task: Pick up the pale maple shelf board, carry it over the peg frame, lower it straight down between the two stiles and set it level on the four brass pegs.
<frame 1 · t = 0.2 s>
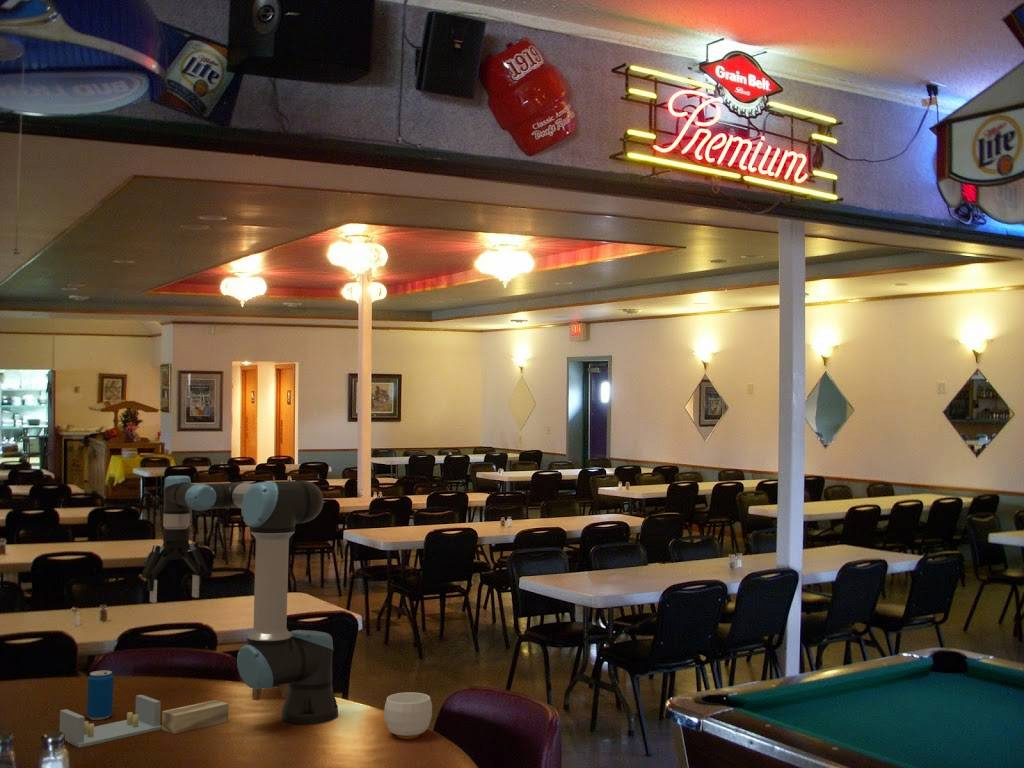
hand: (174, 599, 307), 28 cm above the table, fingers open, 13 cm apart
planter: (270, 696, 305), on the table
shelf board: (195, 726, 274), on the table
peg frame: (110, 733, 266), on the table
beverage can: (99, 718, 280), on the table
cup: (407, 736, 267), on the table
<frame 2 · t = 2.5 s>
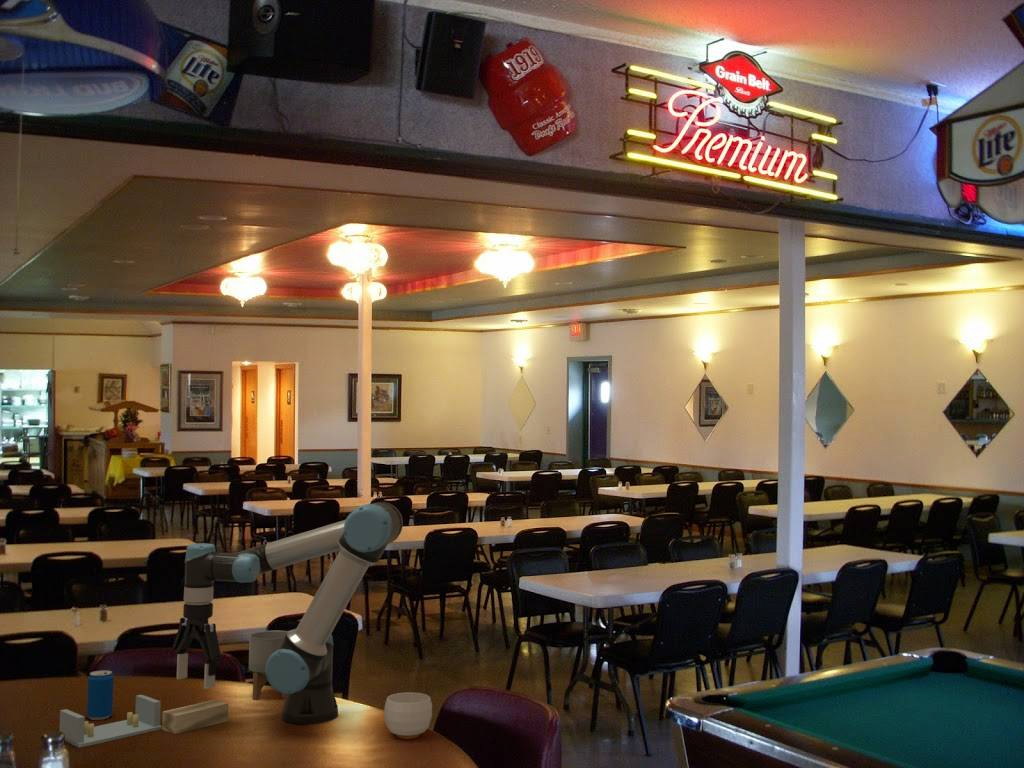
hand: (195, 683, 274), 11 cm above the table, fingers open, 13 cm apart
nothing on the table moved.
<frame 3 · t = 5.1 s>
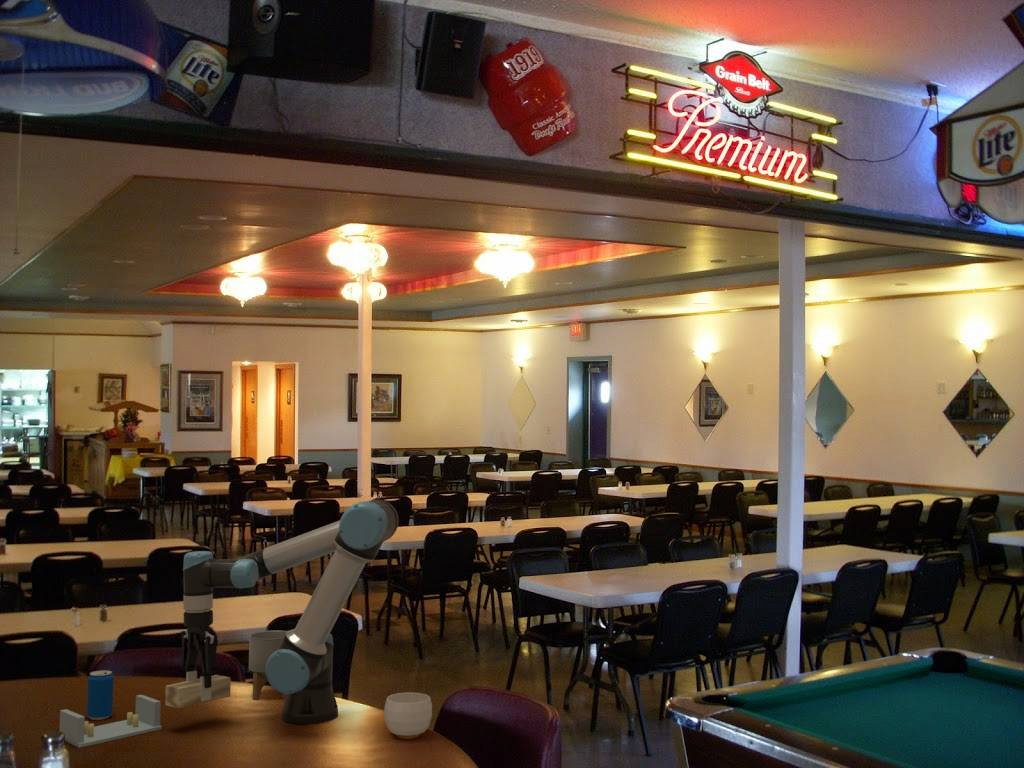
hand: (198, 697, 274), 7 cm above the table, fingers closed on shelf board, 6 cm apart
shelf board: (198, 700, 274), point 6 cm above the table, touching gripper
everything else where it was.
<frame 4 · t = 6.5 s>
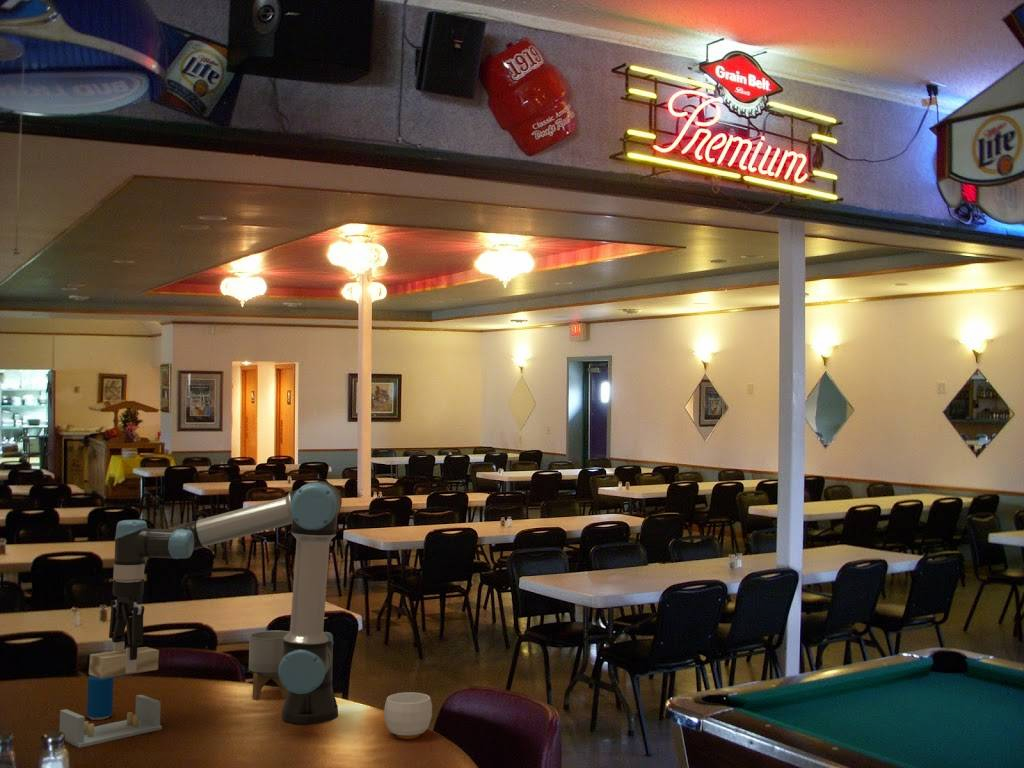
hand: (124, 669, 268), 16 cm above the table, fingers closed on shelf board, 6 cm apart
shelf board: (123, 671, 268), point 15 cm above the table, touching gripper
everything else where it was.
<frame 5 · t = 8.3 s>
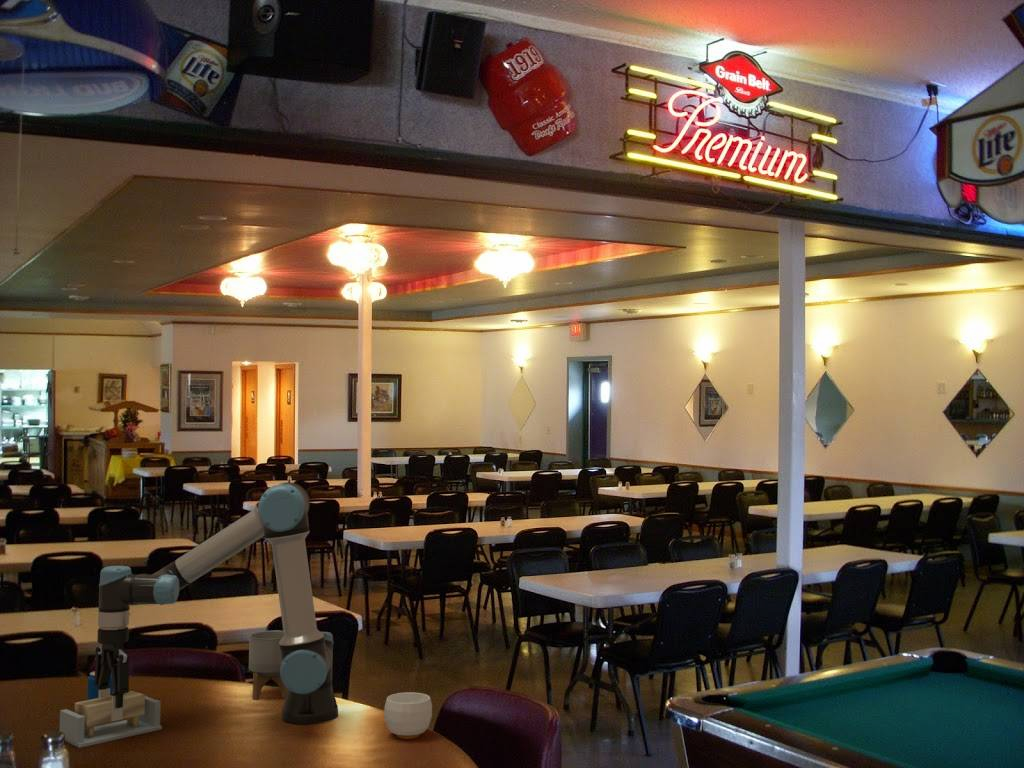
hand: (110, 717, 266), 4 cm above the table, fingers closed on shelf board, 6 cm apart
shelf board: (110, 718, 266), point 4 cm above the table, touching gripper, peg frame
everything else where it was.
when the fingers open (4 cm above the table, at t = 8.6 s): shelf board stays where it is, resting on peg frame.
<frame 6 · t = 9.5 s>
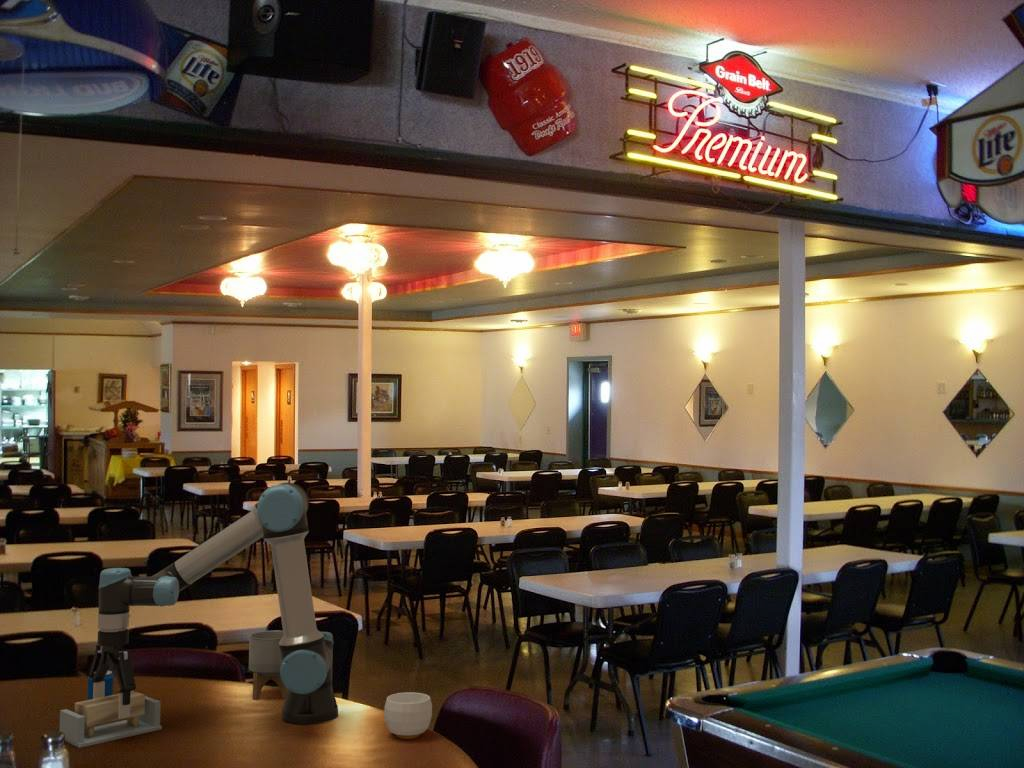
hand: (111, 712, 266), 5 cm above the table, fingers open, 13 cm apart
shelf board: (110, 718, 266), point 4 cm above the table, touching peg frame
everything else where it was.
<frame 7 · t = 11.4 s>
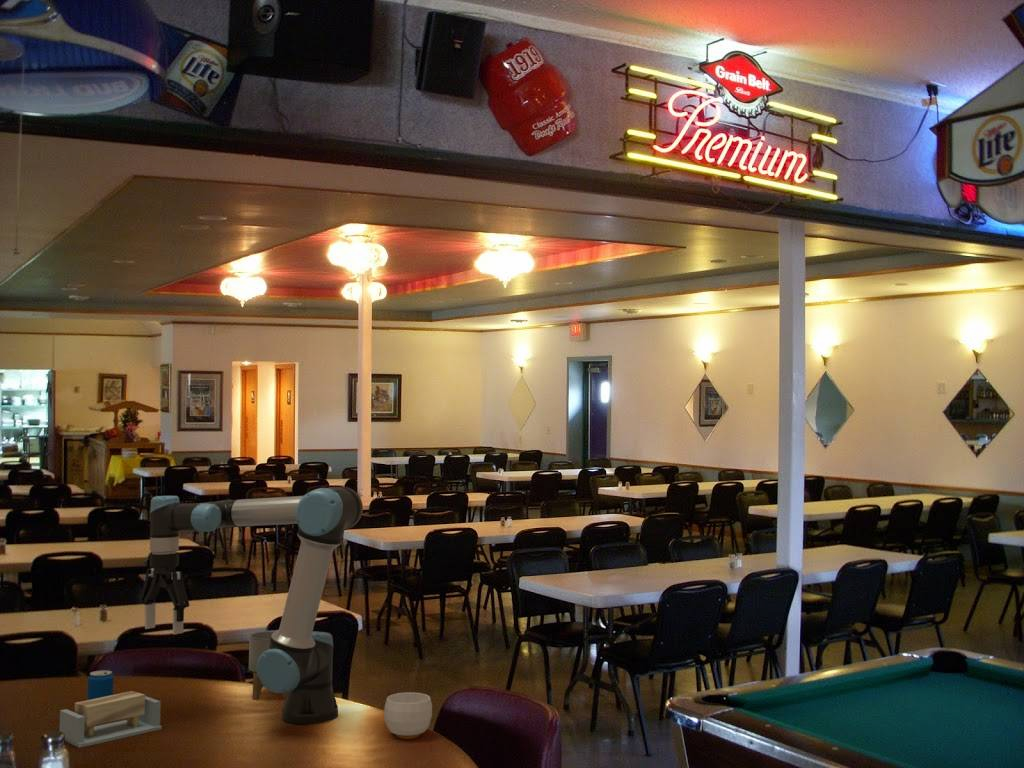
hand: (163, 630, 282), 23 cm above the table, fingers open, 13 cm apart
nothing on the table moved.
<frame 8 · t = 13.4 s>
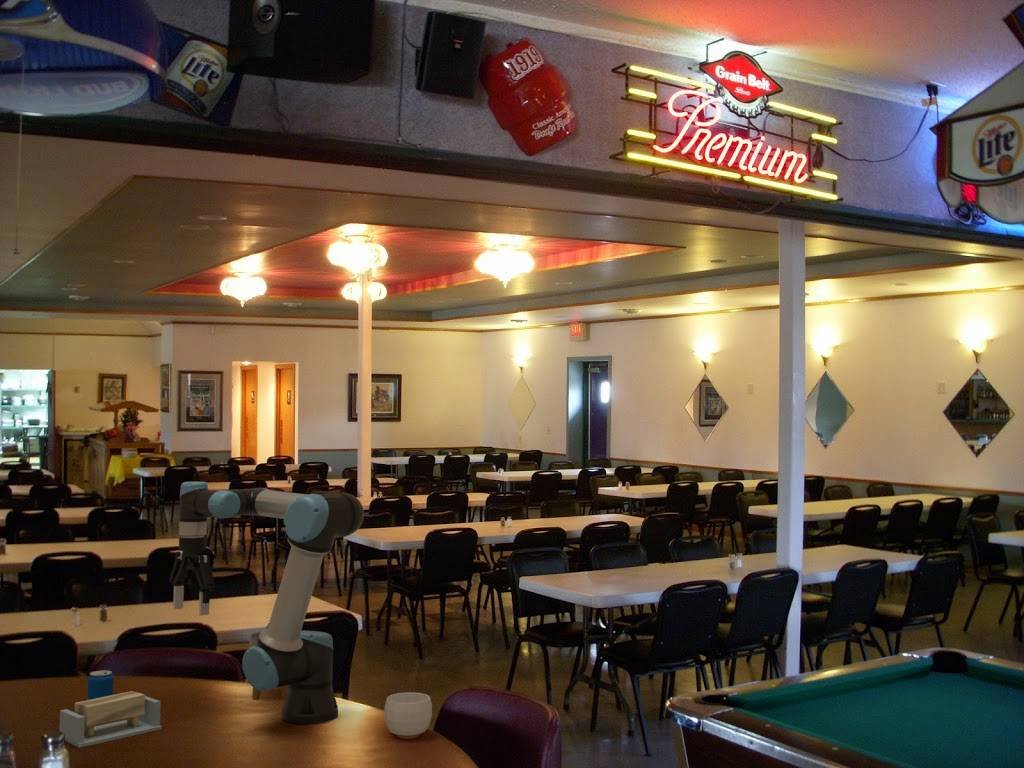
hand: (190, 611, 292), 27 cm above the table, fingers open, 13 cm apart
nothing on the table moved.
at the end: shelf board 0.2 cm off-centre on the peg frame, point 3.8 cm above the peg frame's base; shelf board tilted 0°; the gripper is holding nothing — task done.
